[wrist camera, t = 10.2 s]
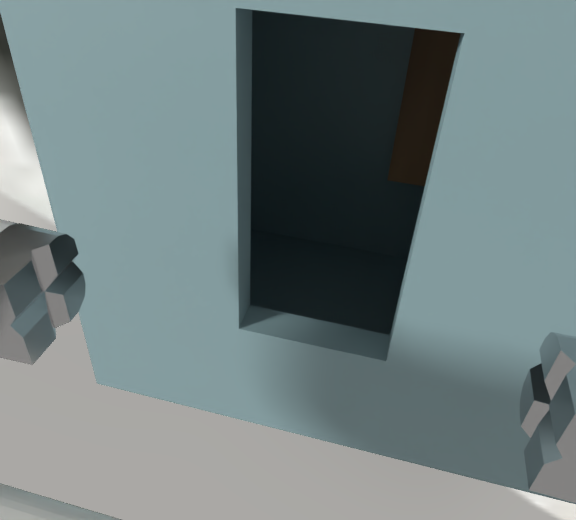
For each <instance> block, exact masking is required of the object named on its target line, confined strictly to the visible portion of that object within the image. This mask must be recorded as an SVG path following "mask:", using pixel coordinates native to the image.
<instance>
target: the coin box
mask: <svg viewBox="0 0 576 520" xmlns="http://www.w3.org/2000/svg"><path fill="white" fill-rule="evenodd" d="M0 13H1V16H2V20H3V24H4V28H5V32H6V36H7V39H8V43H9V47H10V51H11V55H12V59H13V63H14V66H15V70H16V74H17V78H18V82H19V86H20V89H21V93H22V97H23V101H24V105H25V109H26V112H27V116H28V120H29V124H30V128H31V132H32V136H33V139H34V143H35V147H36V151H37V155H38V159H39V162H40V166H41V170H42V174H43V178H44V182H45V185H46V189H47V193H48V197H49V201H50V205H51V209H52V212H53V216H54V220H55V224H56V228H57V232H60V233H64V234H67V235H69V236H71V237H72V238H74V240H75V243H76V247H77V250H78V253H79V254H78V255H77V257H76V259H75V260H74V263H75V264H76V265H77V267H78V268H79V269H80V270H81V271H82V272H83V274H84V279H85V283H86V286H85V297H84V300H83V302H82V305H81V308H80V310H79V311H78V312H79V316H80V320H81V324H82V327H83V331H84V335H85V339H86V343H87V347H88V350H89V354H90V358H91V362H92V366H93V370H94V374H95V378H96V381H97V383H98V384H102V385H106V386H110V387H114V388H117V389H121V390H125V391H129V392H134V393H137V394H141V395H145V396H149V397H153V398H157V399H161V400H165V401H169V402H173V403H177V404H181V405H185V406H189V407H193V408H197V409H201V410H205V411H209V412H213V413H217V414H221V415H225V416H229V417H233V418H237V419H240V420H244V421H248V422H253V423H256V424H261V425H265V426H268V427H272V428H276V429H280V430H284V431H288V432H292V433H296V434H300V435H304V436H308V437H312V438H316V439H320V440H324V441H328V442H332V443H335V444H339V445H343V446H347V447H351V448H356V449H359V450H364V451H367V452H371V453H375V454H379V455H383V456H387V457H391V458H395V459H399V460H403V461H407V462H411V463H415V464H419V465H423V466H427V467H431V468H435V469H439V470H442V471H447V472H450V473H455V474H458V475H462V476H466V477H471V478H475V479H478V480H482V481H486V482H490V483H494V484H498V485H502V486H506V487H510V488H514V489H518V490H522V491H526V492H530V493H534V494H538V495H542V496H546V497H549V498H553V499H557V500H561V501H565V502H569V503H573V502H570V501H566V500H563V499H559V498H556V497H552V496H548V495H545V494H541V493H538V492H534V491H530V490H529V488H528V480H527V472H526V465H525V457H524V450H525V448H526V446H527V444H528V442H529V440H530V437H529V436H528V435H527V433H526V432H525V431H524V430H523V428H522V427H521V423H520V397H521V392H522V387H523V383H524V381H525V379H526V376H527V374H528V372H529V369H531V368H533V367H535V366H537V365H539V364H541V357H540V351H539V349H540V347H541V345H542V343H543V341H544V339H545V337H546V336H547V335H548V334H549V333H550V332H555V333H560V334H565V335H570V336H575V337H576V0H0ZM415 28H420V29H429V30H438V31H447V32H456V33H461V34H460V39H459V43H458V47H457V51H456V56H455V60H454V64H453V68H452V73H451V77H450V81H449V86H448V90H447V94H446V98H445V103H444V107H443V111H442V115H441V120H440V124H439V128H438V132H437V137H436V141H435V145H434V150H433V154H432V158H431V162H430V167H429V171H428V175H427V179H426V184H425V186H419V185H413V184H407V183H400V182H394V181H388V180H387V179H388V173H389V168H390V162H391V157H392V151H393V146H394V140H395V135H396V129H397V124H398V118H399V113H400V108H401V102H402V97H403V91H404V86H405V80H406V75H407V69H408V64H409V58H410V53H411V47H412V42H413V36H414V31H415ZM573 504H576V503H573Z"/></svg>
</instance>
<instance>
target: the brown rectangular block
mask: <svg viewBox="0 0 576 520" xmlns="http://www.w3.org/2000/svg"><path fill="white" fill-rule="evenodd" d="M460 34H461V33H456V32H447V31H438V30H429V29H420V28H415V31H414V36H413V42H412V47H411V53H410V58H409V64H408V69H407V75H406V80H405V86H404V91H403V97H402V102H401V108H400V113H399V118H398V124H397V129H396V135H395V140H394V146H393V151H392V157H391V162H390V168H389V173H388V179H387V180H388V181H394V182H400V183H407V184H413V185H419V186H425V184H426V179H427V175H428V171H429V167H430V162H431V158H432V154H433V150H434V145H435V141H436V137H437V132H438V128H439V124H440V120H441V115H442V111H443V107H444V103H445V98H446V94H447V90H448V86H449V81H450V77H451V73H452V68H453V64H454V60H455V56H456V51H457V47H458V43H459V39H460Z"/></svg>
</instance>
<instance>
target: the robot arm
mask: <svg viewBox="0 0 576 520" xmlns="http://www.w3.org/2000/svg"><path fill="white" fill-rule="evenodd" d="M78 254H79V253H78V250H77V247H76V243H75V240H74V238H72V237H71V236H69V235H67V234H64V233H60V232H56V231H51V230H47V229H42V228H38V227H34V226H29V225H24V224H20V223H19V224H17V223H14V222H10V221H5V220H1V219H0V358H4V359H9V360H13V361H18V362H23V363H27V364H31V365H33V364H34V363H35V361H36V360H37V359H38V358H39V357H40V356H41V355H42V354H43V352H44V351H45V350H46V349H47V348H48V347H49V346H50V344H51V343H52V342H53V341H54V340H55V339H56V332H55V328H57V327H59V326H61V325H63V324H66V323H68V322H70V321H71V320H72V319H73V318H74V316H75V315H76V314H77V313H78V311H79V310H80V308H81V305H82V302H83V300H84V297H85V286H86V283H85V279H84V274H83V272H82V271H81V270H80V269H79V268H78V267H77V265H76V264H75V263H74V260H75V259H76V257H77V255H78ZM539 351H540V357H541V364H539V365H537V366H535V367H533V368H531V369H529V372H528V374H527V376H526V379H525V381H524V383H523V387H522V392H521V397H520V423H521V427H522V428H523V430H524V431H525V432H526V433H527V435H528V436H529V437H530V440H529V442H528V444H527V446H526V448H525V450H524V457H525V465H526V472H527V480H528V488H529V490H530V491H534V492H538V493H541V494H545V495H548V496H552V497H556V498H559V499H563V500H566V501H570V502H573V503H576V337H575V336H570V335H565V334H560V333H555V332H550V333H549V334H548V335H547V336H546V337H545V339H544V341H543V343H542V345H541V347H540V349H539ZM0 520H121V519H118V518H114V517H111V516H108V515H104V514H101V513H98V512H94V511H91V510H88V509H84V508H81V507H78V506H74V505H71V504H68V503H64V502H61V501H58V500H54V499H51V498H47V497H44V496H41V495H37V494H34V493H31V492H27V491H24V490H21V489H18V488H14V487H11V486H8V485H4V484H0Z"/></svg>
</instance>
